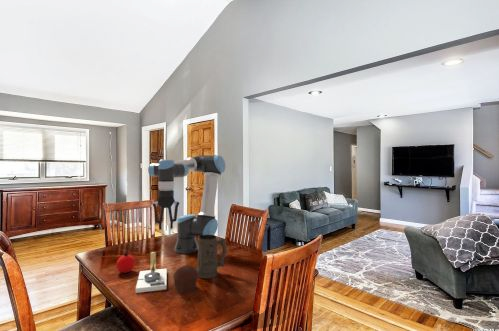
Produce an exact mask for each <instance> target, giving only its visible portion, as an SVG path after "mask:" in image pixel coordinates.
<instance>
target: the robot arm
mask: <svg viewBox="0 0 499 331" xmlns="http://www.w3.org/2000/svg"><path fill="white" fill-rule="evenodd" d="M225 161H226V160H225V159H224V157H223V156H222V155H216V154H211V155H210V154H209V155H204V154H203V155H197V156H193V157H188V158H186V159H181V160H173V159H159V161H158V163H156V162H155V163H151V164H149V165H148V168H147V170H148V171H147V172H148V175H149V176H151V177H154V178H157V177H158V193H157V196H158V197H157V201H155V202H152V206H153V209H154V222H155V223H157V224H158V229H159V230H160V236H161V237H164V223H163V218H164V211H165V210H164V209H166V208H167V210H168V215H169V216H168V217H169V221H168V236H169V237H171V233H172V232H171V230H172V229H174V225H173V224H174V222H176V221H177V238H176V239H177V240H176V242H175V245H174V253H176V254H181V255H182V254H185V255H186V254H193V253H195V252H198V240H197V238H196V237H199V236H201V235H214V236H215V234H216V232H217V230H218V225H219V223H218V220H217V219H216V215H215V213H214V212H215V205H216V197H217V190H218V183H219V178H220V177H221V176H222V174H223V173H224V172H225V171H226V162H225ZM189 172H192V173H193V172H200V173H203V174H204V177H205V179H204V183H203V191H202V198H201V205H200V211H199V212H198V213H197V215H196V214H194V213H193V214H191V213H190V214H185V215H180V216H178V209H179V205H180V202H179V201H176V199H175V197H174V196H175V191H174V188H175V187H174V186H175V182H174V181H175V179H174V178H184V177H187V176H188V174H189ZM173 204H174V212H173V213H172V206H173ZM158 205H159V206H160V212H159V216H158V208H157V207H158ZM177 217H178V218H177ZM158 218H159V219H158Z"/></svg>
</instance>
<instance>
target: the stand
mask: <svg viewBox="0 0 499 331" xmlns="http://www.w3.org/2000/svg"><path fill="white" fill-rule="evenodd" d="M155 272H158V273H160V279H158V280H156V281H152V282H147V281H145V280H144V276H145V275H146V274H148V273H151V271H150V269H149V270H140V271H139V274H138V278H137V282H136V285H135V294H138V293H146V292H154V291H155V292H157V291H163V290H167V280H168V279H167V268H158V269H157V268H156V271H155Z"/></svg>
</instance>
